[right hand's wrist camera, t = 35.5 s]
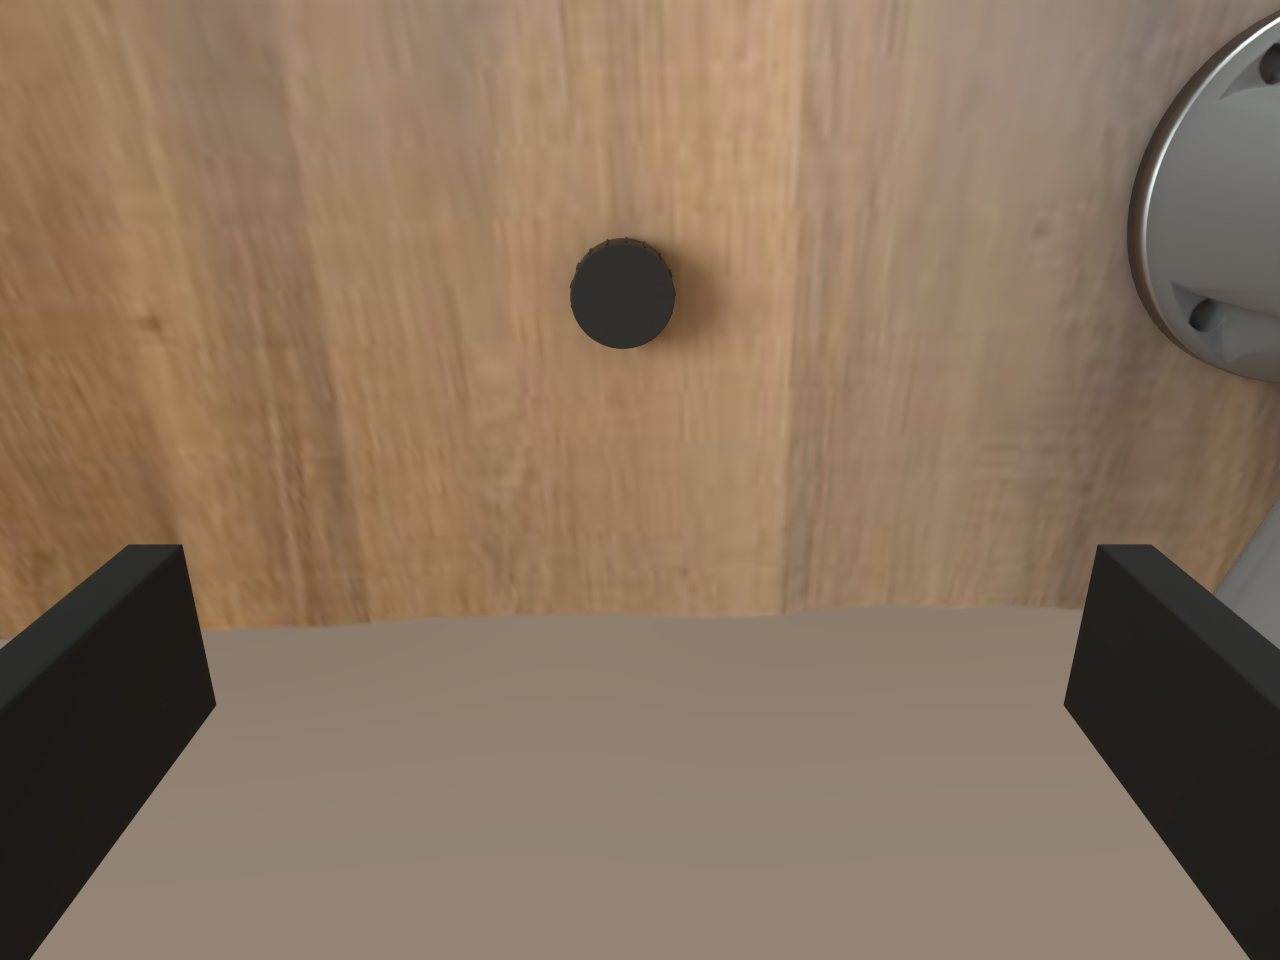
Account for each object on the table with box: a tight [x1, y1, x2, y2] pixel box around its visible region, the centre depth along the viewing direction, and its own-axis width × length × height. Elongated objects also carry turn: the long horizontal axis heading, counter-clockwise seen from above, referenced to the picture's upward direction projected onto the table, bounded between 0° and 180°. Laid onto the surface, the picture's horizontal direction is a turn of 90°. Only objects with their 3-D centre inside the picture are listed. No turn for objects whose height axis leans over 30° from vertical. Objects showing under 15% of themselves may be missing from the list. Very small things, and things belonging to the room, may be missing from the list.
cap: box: [570, 237, 676, 349], centre depth 37 cm, size 4×4×2 cm
